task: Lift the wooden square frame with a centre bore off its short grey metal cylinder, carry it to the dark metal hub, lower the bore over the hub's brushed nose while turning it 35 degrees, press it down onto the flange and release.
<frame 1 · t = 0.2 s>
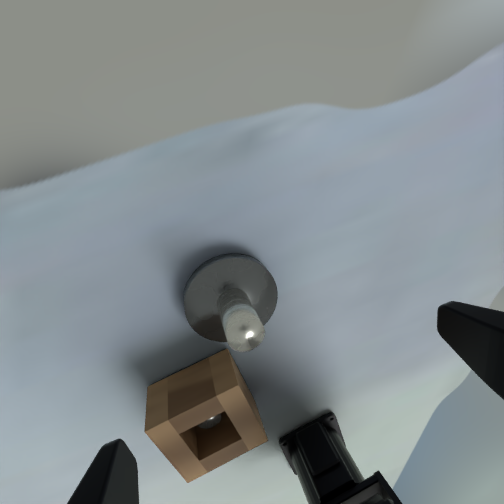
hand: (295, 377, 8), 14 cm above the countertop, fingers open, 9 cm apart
hub: (230, 295, 23), on the countertop
wooden square frame: (205, 394, 25), on the countertop
grey metal cylinder: (205, 394, 25), on the countertop
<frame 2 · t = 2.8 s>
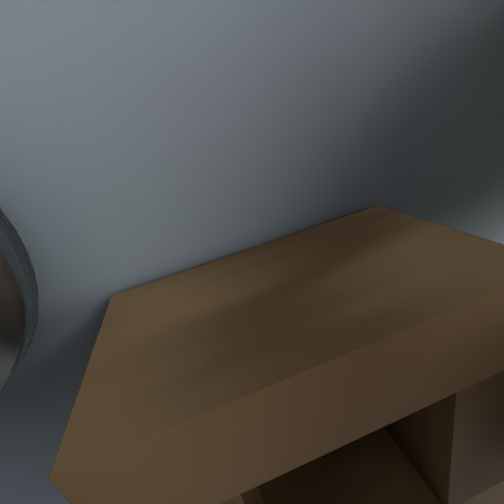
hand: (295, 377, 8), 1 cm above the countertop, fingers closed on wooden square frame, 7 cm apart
wooden square frame: (282, 352, 9), on the countertop, touching gripper
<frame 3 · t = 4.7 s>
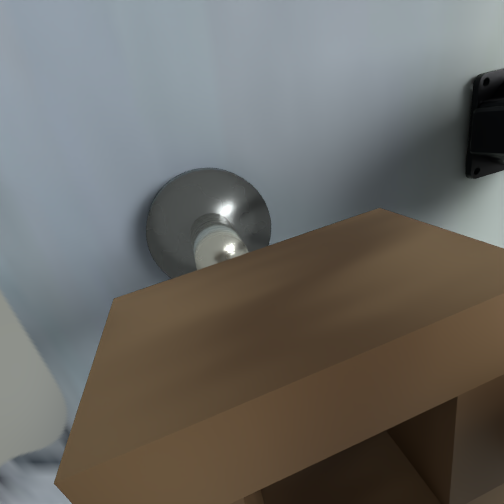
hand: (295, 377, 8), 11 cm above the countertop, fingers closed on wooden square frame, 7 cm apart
hub: (209, 228, 17), on the countertop
wooden square frame: (283, 354, 9), point 10 cm above the countertop, touching gripper
when the fingers open (2 cm above the countertop, at t = 7.0 s): wooden square frame stays where it is, resting on hub.
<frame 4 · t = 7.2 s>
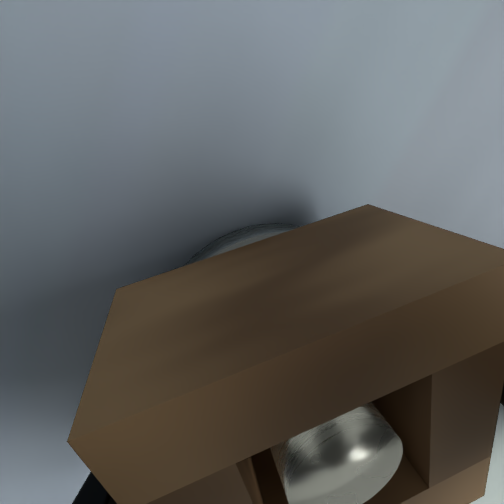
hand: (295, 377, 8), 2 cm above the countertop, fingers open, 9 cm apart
hub: (265, 323, 10), on the countertop
wooden square frame: (277, 344, 9), point 1 cm above the countertop, touching hub
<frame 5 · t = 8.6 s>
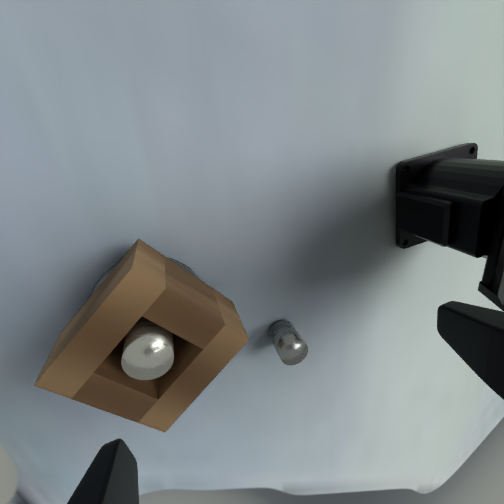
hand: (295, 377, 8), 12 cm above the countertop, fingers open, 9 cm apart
hub: (151, 306, 19), on the countertop
wooden square frame: (152, 315, 18), point 1 cm above the countertop, touching hub
grey metal cylinder: (281, 331, 22), on the countertop
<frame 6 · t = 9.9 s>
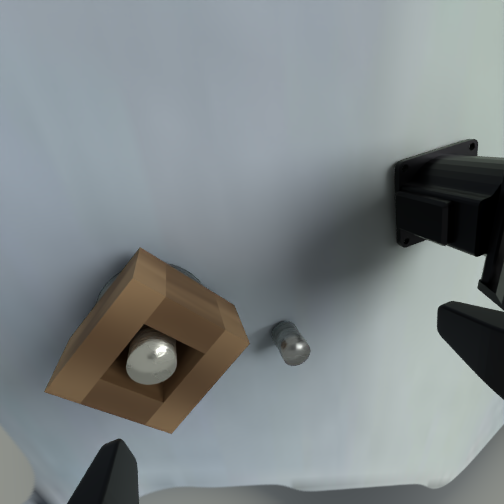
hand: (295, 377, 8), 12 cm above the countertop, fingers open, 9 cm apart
hub: (155, 312, 19), on the countertop
wooden square frame: (156, 321, 18), point 1 cm above the countertop, touching hub
grey metal cylinder: (284, 332, 23), on the countertop
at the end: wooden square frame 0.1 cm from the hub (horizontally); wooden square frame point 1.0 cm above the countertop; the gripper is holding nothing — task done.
